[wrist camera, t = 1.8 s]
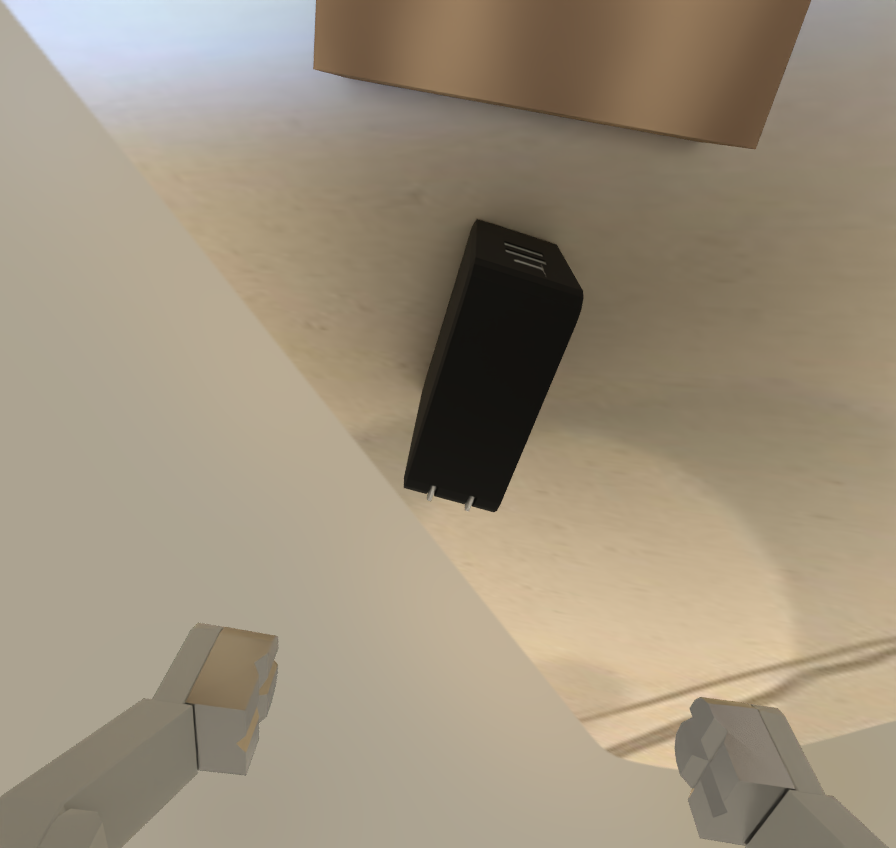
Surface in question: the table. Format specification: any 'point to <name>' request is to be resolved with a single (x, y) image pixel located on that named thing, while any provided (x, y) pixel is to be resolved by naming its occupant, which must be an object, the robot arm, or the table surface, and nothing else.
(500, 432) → the electronic device
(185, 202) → the table surface
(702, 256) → the table surface
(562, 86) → the walnut box
